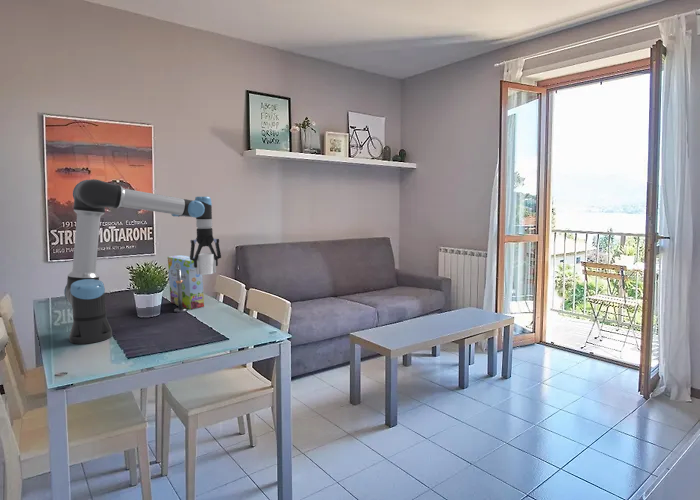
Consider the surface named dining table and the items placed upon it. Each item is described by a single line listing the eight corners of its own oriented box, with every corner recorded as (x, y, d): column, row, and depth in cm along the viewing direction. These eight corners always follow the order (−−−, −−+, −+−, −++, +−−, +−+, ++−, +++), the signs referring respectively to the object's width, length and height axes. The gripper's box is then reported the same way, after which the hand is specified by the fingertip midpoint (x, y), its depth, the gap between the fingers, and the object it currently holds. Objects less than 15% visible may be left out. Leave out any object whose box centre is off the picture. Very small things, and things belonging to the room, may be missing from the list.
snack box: (168, 303, 244) (166, 256, 241) (183, 300, 250) (181, 254, 247) (190, 309, 230) (187, 259, 227) (205, 306, 236) (203, 258, 233)
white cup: (217, 273, 227) (217, 253, 226) (205, 275, 221) (204, 255, 220) (207, 272, 232) (206, 252, 230) (194, 274, 225) (193, 254, 224)
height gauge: (188, 311, 226) (186, 270, 224) (175, 313, 223) (173, 271, 221) (185, 309, 231) (183, 268, 229) (173, 310, 228) (171, 269, 226)
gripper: (222, 226, 232) (224, 270, 235) (181, 228, 221) (183, 274, 224) (227, 227, 226) (228, 272, 228) (184, 228, 215) (186, 276, 218)
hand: (206, 273), depth 226 cm, fingers closed on white cup, 8 cm apart
